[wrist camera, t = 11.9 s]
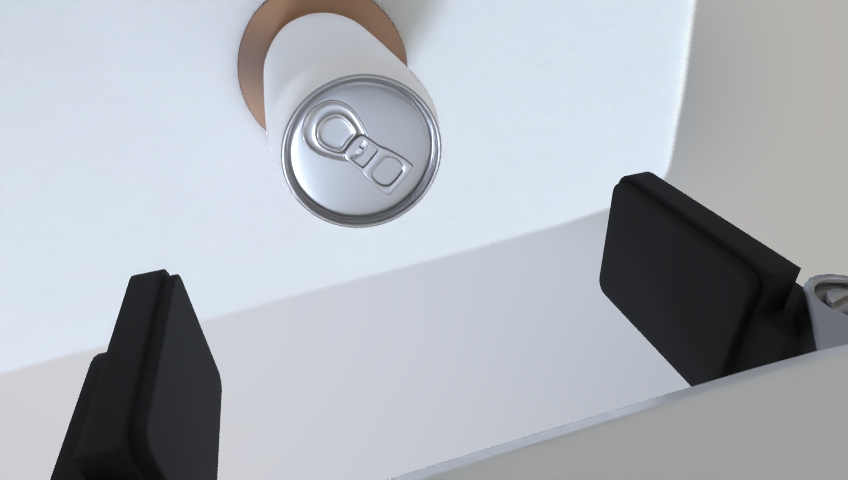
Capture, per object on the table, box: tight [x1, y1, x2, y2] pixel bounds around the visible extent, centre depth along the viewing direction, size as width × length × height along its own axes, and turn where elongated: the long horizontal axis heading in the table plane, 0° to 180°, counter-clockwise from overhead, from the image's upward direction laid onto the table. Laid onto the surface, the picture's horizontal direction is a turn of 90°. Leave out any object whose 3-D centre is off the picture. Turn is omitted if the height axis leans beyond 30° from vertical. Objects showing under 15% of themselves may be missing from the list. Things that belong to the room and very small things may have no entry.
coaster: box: [238, 0, 407, 130], centre depth 28 cm, size 9×9×1 cm
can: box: [264, 13, 441, 228], centre depth 23 cm, size 6×6×12 cm
